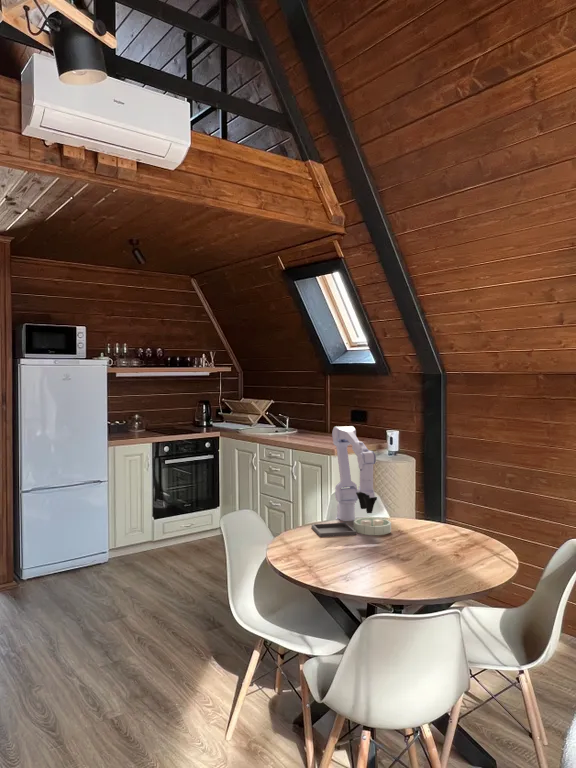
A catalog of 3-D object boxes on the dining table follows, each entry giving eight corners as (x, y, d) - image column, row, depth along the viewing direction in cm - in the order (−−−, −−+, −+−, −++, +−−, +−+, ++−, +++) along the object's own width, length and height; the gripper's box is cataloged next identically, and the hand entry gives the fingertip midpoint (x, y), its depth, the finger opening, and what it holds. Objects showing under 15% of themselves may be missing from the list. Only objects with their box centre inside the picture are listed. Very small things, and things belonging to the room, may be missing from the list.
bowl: (349, 528, 255) (349, 518, 255) (382, 526, 258) (382, 516, 258) (361, 538, 239) (361, 527, 239) (396, 536, 243) (396, 525, 243)
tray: (311, 529, 252) (311, 524, 252) (345, 528, 255) (345, 522, 255) (320, 539, 238) (320, 533, 238) (356, 537, 241) (356, 531, 241)
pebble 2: (371, 528, 251) (371, 519, 251) (381, 528, 252) (381, 518, 252) (375, 531, 247) (375, 522, 246) (384, 530, 247) (385, 521, 247)
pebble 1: (359, 529, 250) (359, 520, 250) (369, 528, 251) (369, 519, 251) (362, 532, 245) (362, 522, 245) (372, 531, 246) (372, 522, 246)
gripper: (352, 476, 254) (352, 507, 254) (363, 482, 240) (363, 515, 240) (367, 476, 255) (367, 506, 256) (379, 482, 241) (379, 514, 241)
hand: (366, 510), depth 248 cm, fingers open, 7 cm apart
